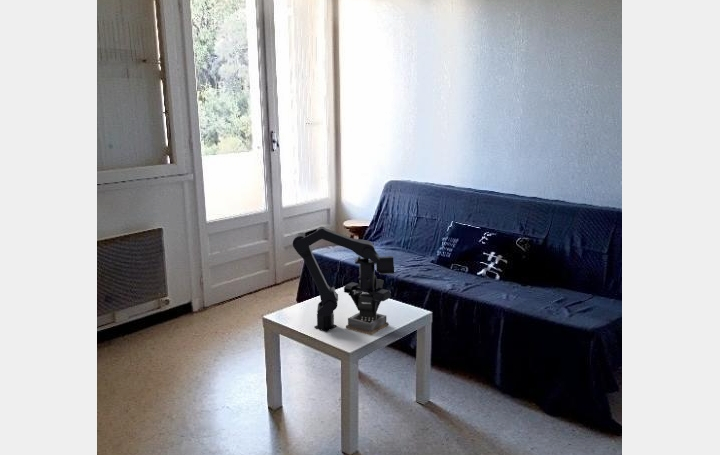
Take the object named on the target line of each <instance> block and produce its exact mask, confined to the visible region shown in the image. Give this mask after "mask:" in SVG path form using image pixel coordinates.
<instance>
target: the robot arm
mask: <svg viewBox="0 0 720 455" xmlns="http://www.w3.org/2000/svg"><path fill="white" fill-rule="evenodd" d="M320 240H324V241H327V242H329V243H331V244H334V245H337V246H340V247H343V248H344V249H347V250H350V251H352V252H353V253H355V255H358V257H356V258H355V259H354V265H359V276H358V277H357V281H359V283H357V282H354V281H353V282H352V281H351V282H349V283H347V284H345V285H344V287H343V293H344V294H348V296H350V298H351V299H352V301H353V303H354V305H355V307H356V309H357V310H358V312H360V311H359V306H358V302H359V296H360V295H361V294H362V293H365V294H370V295H374V299H372V308H373V314H374V315H375V314H376V312H378V308H379V306H380V304H381V302H385V301H387V300H388V299H391V298H392V292H391V291H390V290H389V289H384V288H383V285H384V280H383V279H380V278H379V279H378V278H377V275H376V274H375V272H377V273H378V274H379V275H394V274H395V265H394V256H392V255H390V256H379V253H378V252H377V251H376V250H375V246H374V243H373V242H372V241H370V240H366V239H359V238H358V239H356V238H353V237H349V236H347V235H344V234H341V233H340V232H339V233H338V232H336V231H334V230H331V229H328V228H326V227H325V226H319V227H317V228H314V229H312V230H308V231H306V232H298V233H296V234H295V235H294V237H293V241H292V247H293V249H294V250H295V251H296V253H297V254H298V255H299V256H300V257H301V259H302V260H303V261H304V263H305V265H306V267H307V270H308V271H309V274H310V275H311V278H312V280H313V282H314V284H315V286H316V287H317V290H318V293H319V298H320V302H318V303H317V310H316V325H314V327H313V328H314V329H317V330H320V331H324V332H329V331H331V330H333V329H335V328H336V327H338V326H337V324H335V317H334V316H335V314H334V311H335V310H336V309H337V307H338V301H339V294H338V293H337V292H336V289H335V286H332V287H330V286H329V284H328V283H327V280H326V279H325V276H324V274H323V272H322V270H321V268H320V266H319V263H318V262H317V260H316V258H315V256H314V253H313V251H312V250H313V249H312V245H313V244H315V243H317V242H318V241H320ZM377 289H379V290H377Z"/></svg>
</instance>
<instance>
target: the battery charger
mask: <svg viewBox="0 0 720 455" xmlns="http://www.w3.org/2000/svg"><path fill="white" fill-rule="evenodd" d="M372 299H374V295H370V294H365V293H362V294H361V295H360V296H359V302H358V306H359V311H358V312H360V320H361V321H365V322H369V323H371V322H372V321H374V320H376V319H377V312H378V311H377V312H376V314H375V315H374V314H373V308H372Z"/></svg>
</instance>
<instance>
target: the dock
mask: <svg viewBox="0 0 720 455" xmlns="http://www.w3.org/2000/svg"><path fill="white" fill-rule="evenodd" d="M389 325H390V324H389V322H387V315H384V314H381V313H377V319H376V320H374V321H372V322H371V323H369V322H365V321H361V320H360V311H358V313H356V314H354V315H351V316H350V317H348V318H347V324H346V325H345V328H346V329H347V330H351V331H355V332H358V333H363V334H366V335H369V336H373V335H375V333H377V332H379V331H381V330H383V329H384V328H386V327H388V326H389Z"/></svg>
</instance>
